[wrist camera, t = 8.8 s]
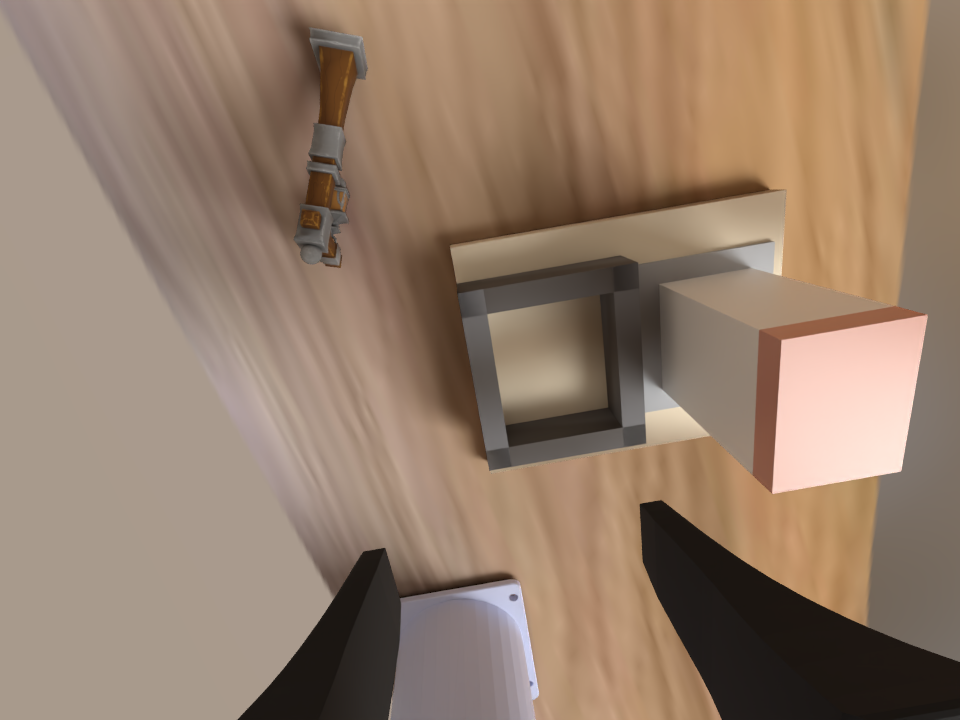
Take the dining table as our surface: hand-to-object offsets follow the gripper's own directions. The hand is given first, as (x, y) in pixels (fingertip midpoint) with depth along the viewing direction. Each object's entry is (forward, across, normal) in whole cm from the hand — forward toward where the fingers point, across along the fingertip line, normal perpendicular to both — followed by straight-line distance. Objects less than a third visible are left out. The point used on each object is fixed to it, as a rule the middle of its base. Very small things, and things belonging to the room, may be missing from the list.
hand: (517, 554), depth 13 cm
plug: (+9, -10, -2) cm, 14 cm away
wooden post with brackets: (+11, +4, -12) cm, 16 cm away
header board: (+10, -6, -2) cm, 12 cm away
